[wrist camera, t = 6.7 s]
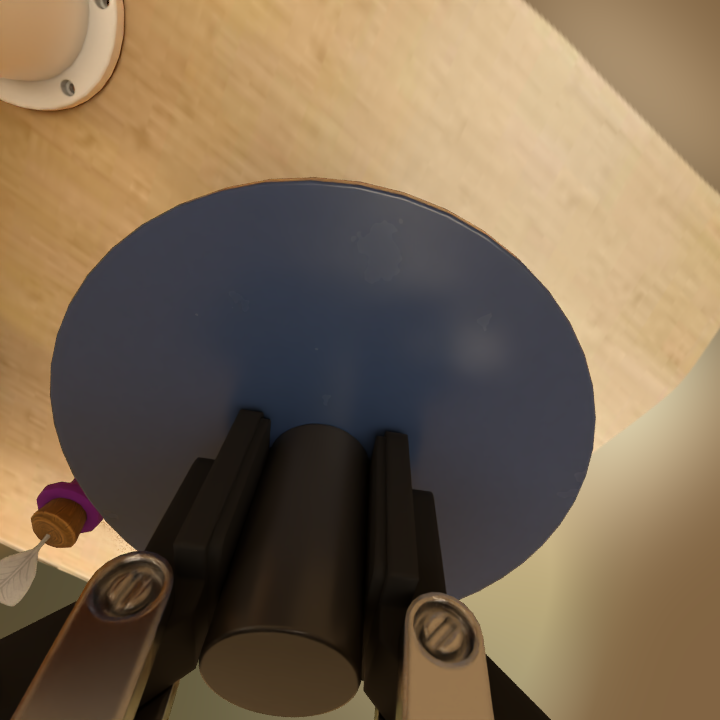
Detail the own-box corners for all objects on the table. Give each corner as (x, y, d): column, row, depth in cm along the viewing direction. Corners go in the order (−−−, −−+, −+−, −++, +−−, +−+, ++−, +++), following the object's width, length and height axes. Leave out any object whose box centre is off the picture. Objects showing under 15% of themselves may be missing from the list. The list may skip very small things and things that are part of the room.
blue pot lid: (-35, 299, 11) (-447, 474, 6) (516, 56, 8) (788, -77, 3) (231, 618, 17) (159, 856, 11) (608, 541, 14) (752, 810, 8)
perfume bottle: (143, 355, 38) (-34, 524, 22) (208, 414, 40) (92, 603, 24) (92, 399, 40) (-101, 579, 24) (156, 452, 43) (19, 646, 27)
